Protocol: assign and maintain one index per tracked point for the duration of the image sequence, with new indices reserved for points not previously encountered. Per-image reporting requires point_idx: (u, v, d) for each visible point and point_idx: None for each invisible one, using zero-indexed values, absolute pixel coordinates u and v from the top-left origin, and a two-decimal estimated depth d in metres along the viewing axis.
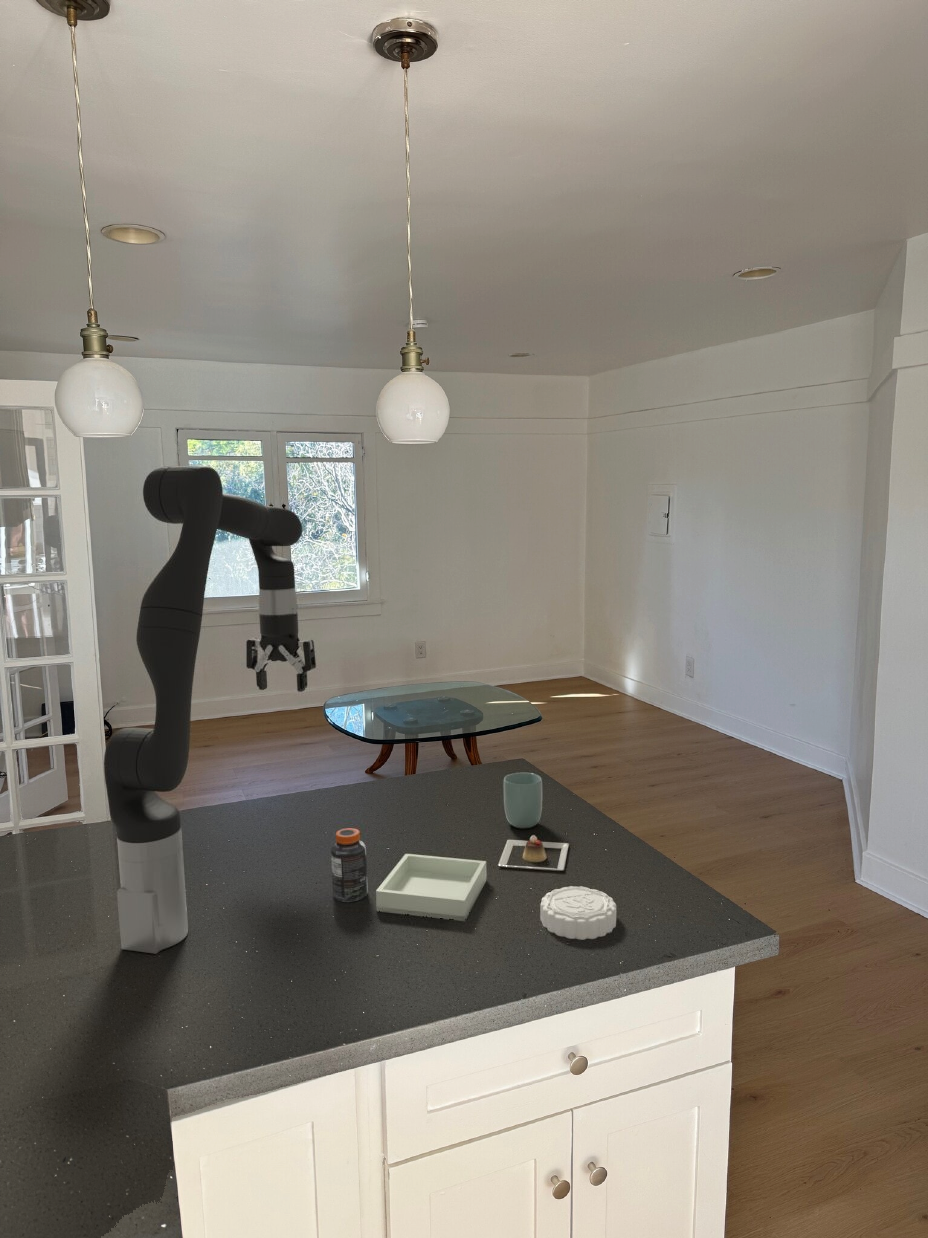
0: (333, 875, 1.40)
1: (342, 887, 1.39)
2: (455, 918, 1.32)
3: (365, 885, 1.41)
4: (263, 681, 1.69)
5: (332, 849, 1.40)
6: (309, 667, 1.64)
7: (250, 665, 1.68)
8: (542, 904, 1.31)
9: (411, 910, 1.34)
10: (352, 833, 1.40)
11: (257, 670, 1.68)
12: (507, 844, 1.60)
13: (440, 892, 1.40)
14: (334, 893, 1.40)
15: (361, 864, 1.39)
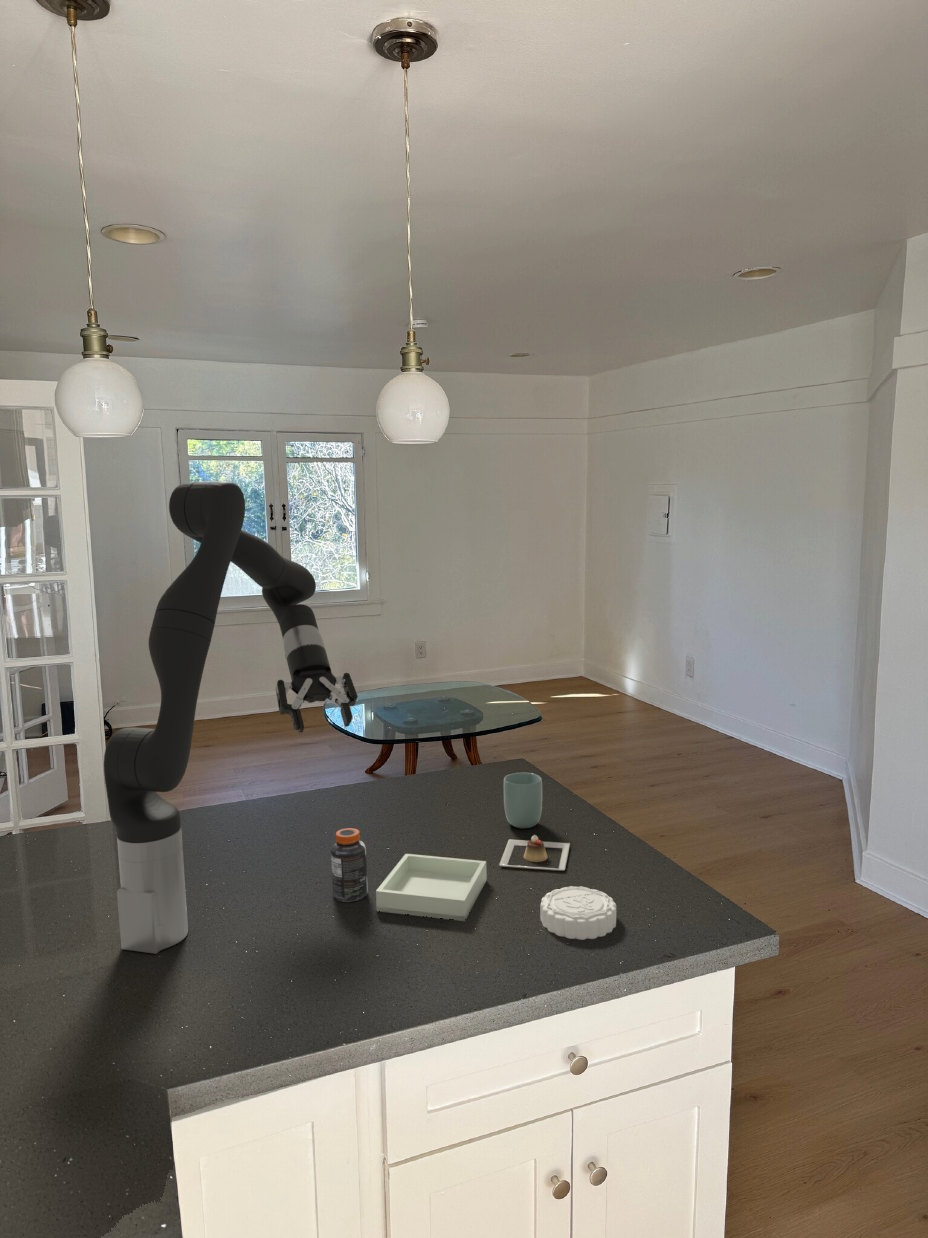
0: (333, 875, 1.40)
1: (342, 887, 1.39)
2: (455, 918, 1.32)
3: (365, 885, 1.41)
4: None
5: (332, 849, 1.40)
6: (355, 695, 1.54)
7: (286, 703, 1.48)
8: (542, 904, 1.31)
9: (411, 910, 1.34)
10: (352, 833, 1.40)
11: (295, 707, 1.48)
12: (508, 844, 1.60)
13: (440, 892, 1.40)
14: (334, 893, 1.40)
15: (361, 864, 1.39)
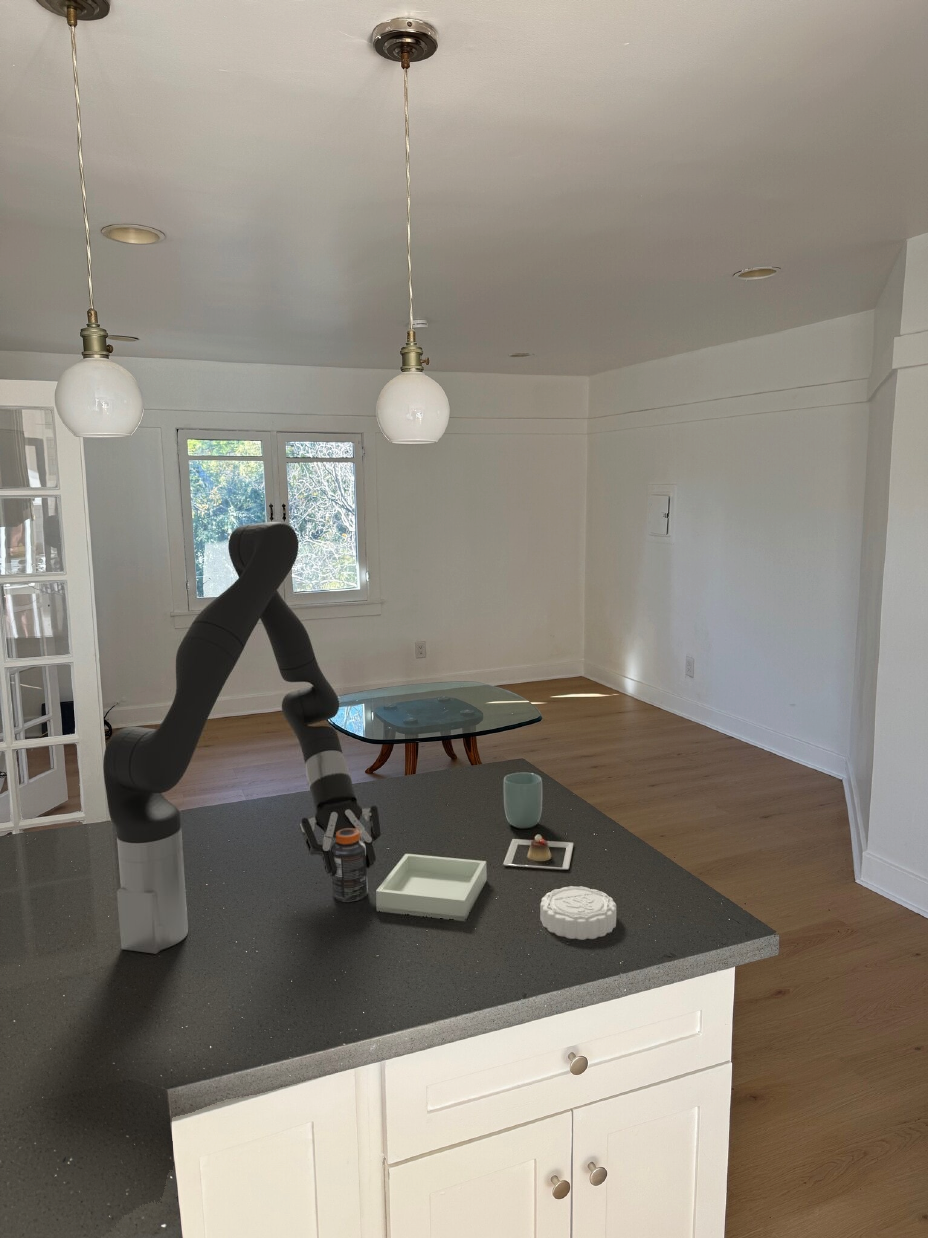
0: None
1: (342, 887, 1.39)
2: (455, 918, 1.32)
3: (365, 885, 1.41)
4: None
5: (332, 849, 1.40)
6: (379, 833, 1.44)
7: (316, 844, 1.39)
8: (542, 904, 1.31)
9: (411, 910, 1.34)
10: (352, 833, 1.40)
11: (327, 848, 1.40)
12: (512, 843, 1.61)
13: (440, 892, 1.40)
14: (334, 893, 1.40)
15: (361, 864, 1.39)
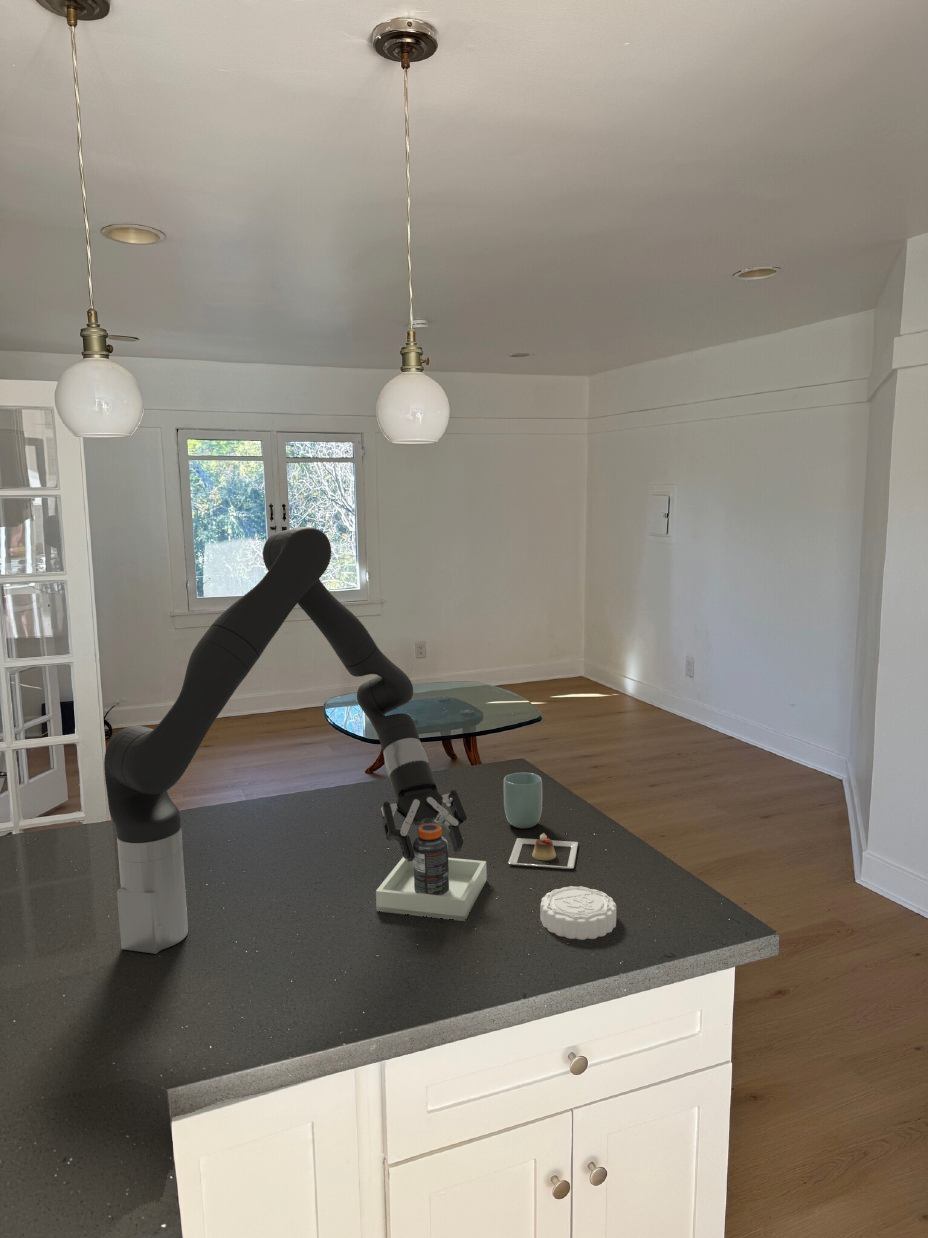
0: (415, 870, 1.39)
1: (425, 882, 1.38)
2: (455, 918, 1.32)
3: (447, 881, 1.40)
4: None
5: (415, 844, 1.39)
6: (465, 816, 1.44)
7: (394, 830, 1.38)
8: (542, 904, 1.31)
9: (411, 910, 1.34)
10: (435, 828, 1.39)
11: (404, 833, 1.38)
12: (517, 842, 1.61)
13: None
14: (416, 889, 1.39)
15: (444, 860, 1.39)
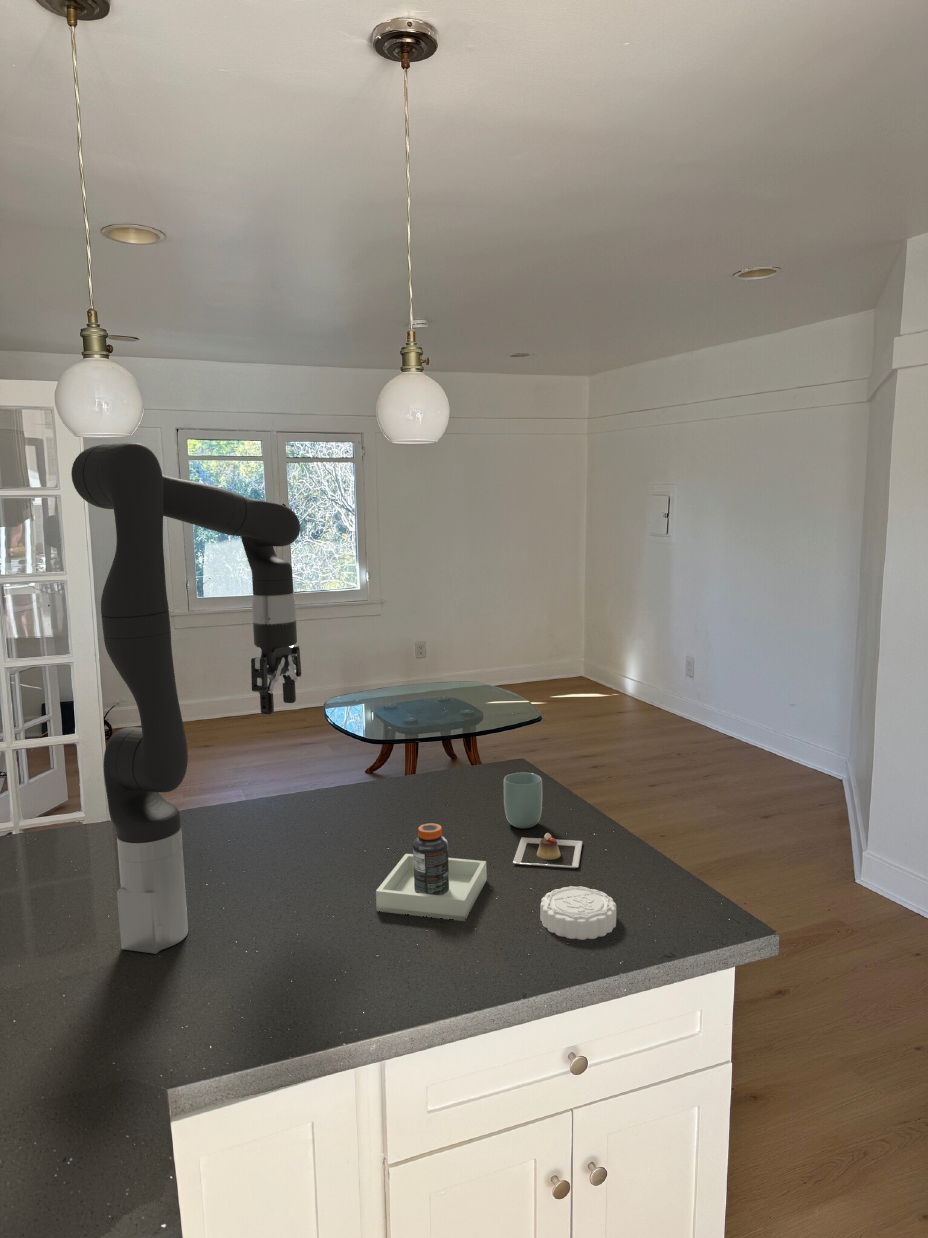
0: (416, 870, 1.39)
1: (426, 882, 1.38)
2: (455, 918, 1.32)
3: (447, 881, 1.40)
4: None
5: (415, 844, 1.39)
6: (300, 672, 1.55)
7: (267, 687, 1.43)
8: (542, 904, 1.31)
9: (411, 910, 1.34)
10: (435, 828, 1.39)
11: (271, 691, 1.44)
12: (521, 842, 1.61)
13: None
14: (416, 889, 1.39)
15: (444, 860, 1.39)
